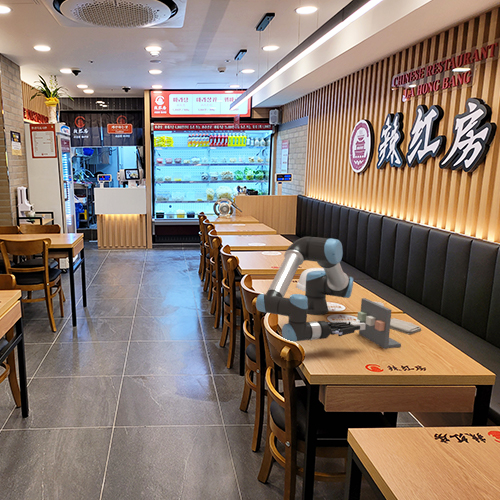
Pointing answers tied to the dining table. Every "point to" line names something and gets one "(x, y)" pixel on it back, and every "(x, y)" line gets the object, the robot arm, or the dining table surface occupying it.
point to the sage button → (361, 316)
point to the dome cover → (302, 281)
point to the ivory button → (370, 320)
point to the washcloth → (404, 326)
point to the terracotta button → (380, 325)
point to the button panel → (370, 331)
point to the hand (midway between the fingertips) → (364, 326)
